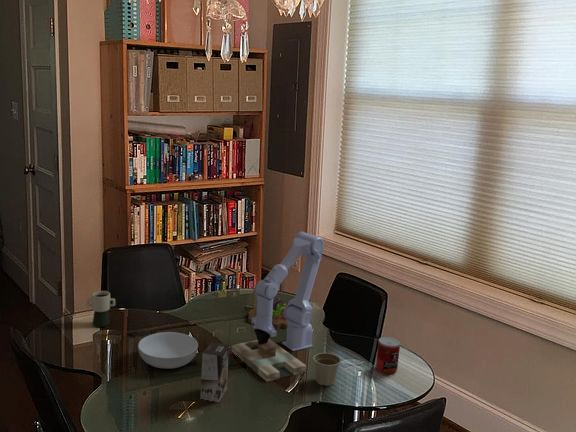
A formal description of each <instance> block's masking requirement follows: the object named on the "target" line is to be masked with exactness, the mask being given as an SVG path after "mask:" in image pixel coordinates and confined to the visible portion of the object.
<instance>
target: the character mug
mask: <svg viewBox="0 0 576 432" xmlns="http://www.w3.org/2000/svg"><path fill="white" fill-rule="evenodd" d="M90 301H91V303H90ZM111 302H112V303H111ZM86 305H87V306H88V307H91V311H93V318H92V325H94V327H106V326H108V325H109V324H110V318H109V312H108V311H109V310H110V309H111V307H115V306H116V298H114V297H113V298H111V293H110V292H109V291H107V290H99V291H94V292H93V293H91V297H87V298H86Z"/></svg>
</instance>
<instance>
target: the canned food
mask: <svg viewBox="0 0 576 432" xmlns="http://www.w3.org/2000/svg"><path fill="white" fill-rule="evenodd" d="M377 343H378V344H377V345H378V346H377V353H376V363H375V367H376V370H377V371H379V372H380V373H381V374H385V375H392V374H395V373H397V371H398V366H399V357H400V350H401V349H400V347H401V342H400V340H398V339H397V338H395V337H391V336H382V337H379V338H378V342H377Z"/></svg>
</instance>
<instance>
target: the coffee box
mask: <svg viewBox="0 0 576 432" xmlns="http://www.w3.org/2000/svg"><path fill="white" fill-rule="evenodd" d="M229 349H230V347H229V344H228V343H227V344H226V343H220V342H209V344H208V345H207V347H206V348H205V349H204V351H203V352H202V356H201V357H202V358H201V375H200V376H201V377H200V378H201V379H200V381H201V382H200V400H201V399H204V400H203V401H206V400H209V401H208V402H212V401H215V402H214V403H217V402H218V403H219V402H220V401H221V399H222V398H223V396H224V395H225V393H226V391H227V390H228V369H229V368H228V367H229V351H230V350H229Z"/></svg>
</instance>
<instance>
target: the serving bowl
mask: <svg viewBox="0 0 576 432" xmlns="http://www.w3.org/2000/svg"><path fill="white" fill-rule="evenodd" d="M137 349H138V353H139V356H140V357H141V359H142V360H143V361H144V362H145V363H146V364H147V365H149V366H152V367H153V368H158V369H166V370H167V369H177V368H181V367H183V366H185V365H188V364H189V363H190V362H192V361H193V360H194V358H195V357H196V355H197V353H198V349H199V342H198V341H197V339H196V338H195V337H193V336H191V335H188V334H186V333H181V332H175V331H174V332H173V331H166V332H165V331H164V332H156V333H152V334H149V335H147V336H145V337H143V338H142V339H140V341H139V342H138V344H137Z"/></svg>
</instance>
